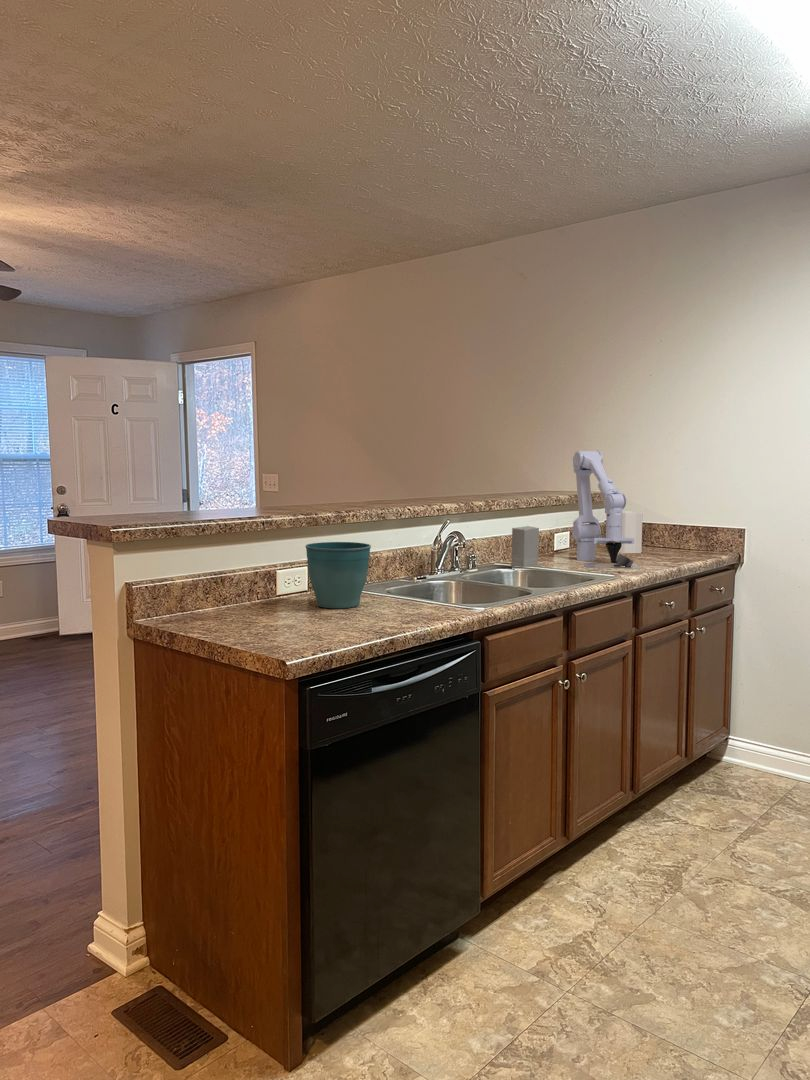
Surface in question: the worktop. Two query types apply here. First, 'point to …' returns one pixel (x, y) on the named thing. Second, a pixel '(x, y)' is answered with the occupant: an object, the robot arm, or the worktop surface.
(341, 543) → the flower pot
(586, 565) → the rail board
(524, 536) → the skincare box
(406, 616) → the worktop surface
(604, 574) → the worktop surface
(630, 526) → the white upright block
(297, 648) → the worktop surface
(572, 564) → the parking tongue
